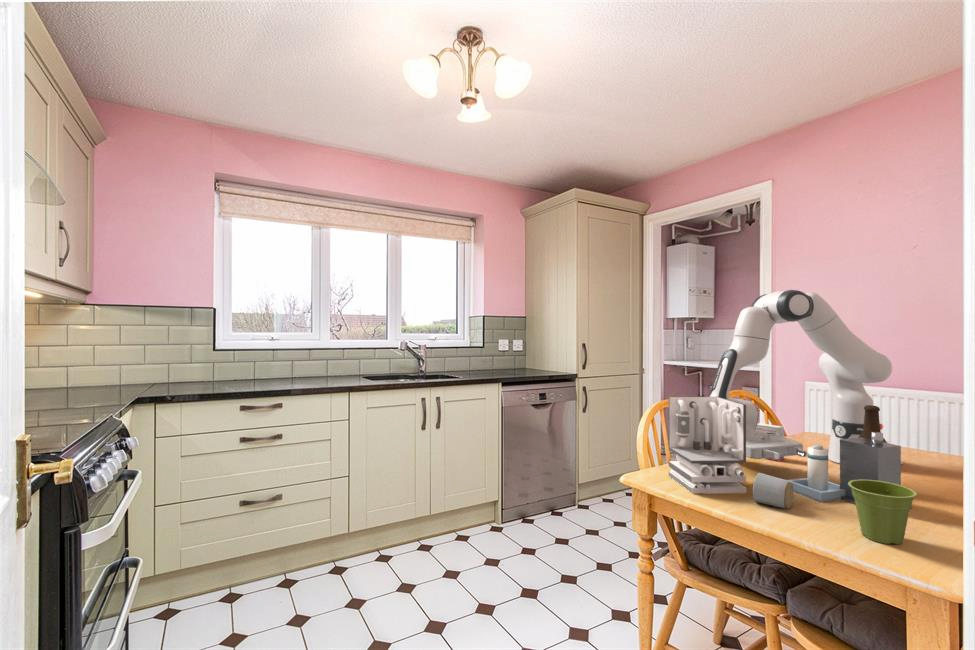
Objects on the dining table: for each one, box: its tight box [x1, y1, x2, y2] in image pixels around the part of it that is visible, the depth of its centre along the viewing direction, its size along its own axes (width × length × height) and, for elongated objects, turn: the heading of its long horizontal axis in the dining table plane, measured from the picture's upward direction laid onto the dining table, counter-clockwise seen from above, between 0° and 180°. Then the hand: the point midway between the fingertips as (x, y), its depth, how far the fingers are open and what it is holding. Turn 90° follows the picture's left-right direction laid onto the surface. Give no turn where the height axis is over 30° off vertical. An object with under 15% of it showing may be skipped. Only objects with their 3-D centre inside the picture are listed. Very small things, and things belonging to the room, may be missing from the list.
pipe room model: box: [668, 396, 747, 494], centre depth 142 cm, size 16×19×25 cm
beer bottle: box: [858, 404, 888, 443], centre depth 140 cm, size 8×8×24 cm
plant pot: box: [848, 480, 918, 545], centre depth 107 cm, size 12×12×11 cm
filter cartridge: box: [806, 444, 829, 491], centre depth 136 cm, size 5×5×13 cm
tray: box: [786, 477, 845, 503], centre depth 136 cm, size 11×11×2 cm
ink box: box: [755, 422, 785, 462], centre depth 172 cm, size 9×5×12 cm, turn 42°
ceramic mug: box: [752, 472, 795, 509], centre depth 128 cm, size 11×8×8 cm
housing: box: [839, 432, 912, 510], centre depth 129 cm, size 11×13×19 cm
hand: (792, 455), depth 144 cm, fingers open, 8 cm apart
